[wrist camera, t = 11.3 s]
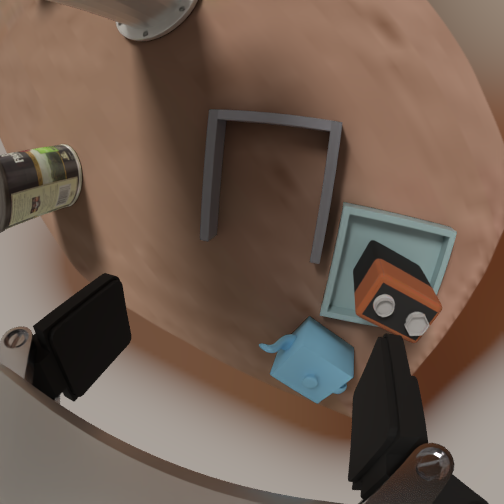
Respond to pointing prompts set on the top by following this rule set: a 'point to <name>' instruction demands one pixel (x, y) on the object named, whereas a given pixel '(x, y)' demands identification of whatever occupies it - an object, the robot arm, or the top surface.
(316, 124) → the frame
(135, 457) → the robot arm
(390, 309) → the battery
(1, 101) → the top surface
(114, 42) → the top surface
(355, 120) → the top surface
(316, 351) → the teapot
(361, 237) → the tray
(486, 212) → the top surface
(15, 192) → the coffee can
